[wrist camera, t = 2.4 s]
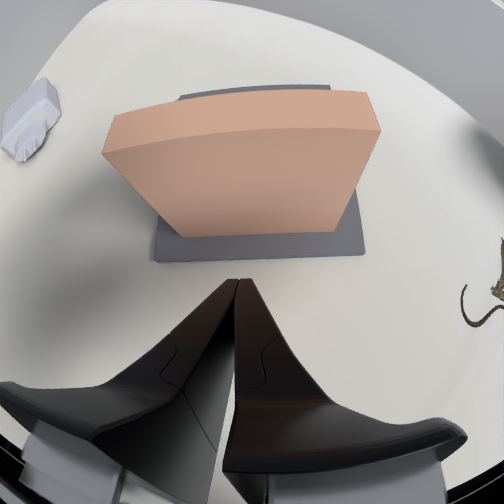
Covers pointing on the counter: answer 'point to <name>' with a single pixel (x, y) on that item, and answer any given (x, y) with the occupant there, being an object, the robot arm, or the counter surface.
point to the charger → (29, 120)
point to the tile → (247, 159)
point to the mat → (263, 245)
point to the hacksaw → (496, 292)
